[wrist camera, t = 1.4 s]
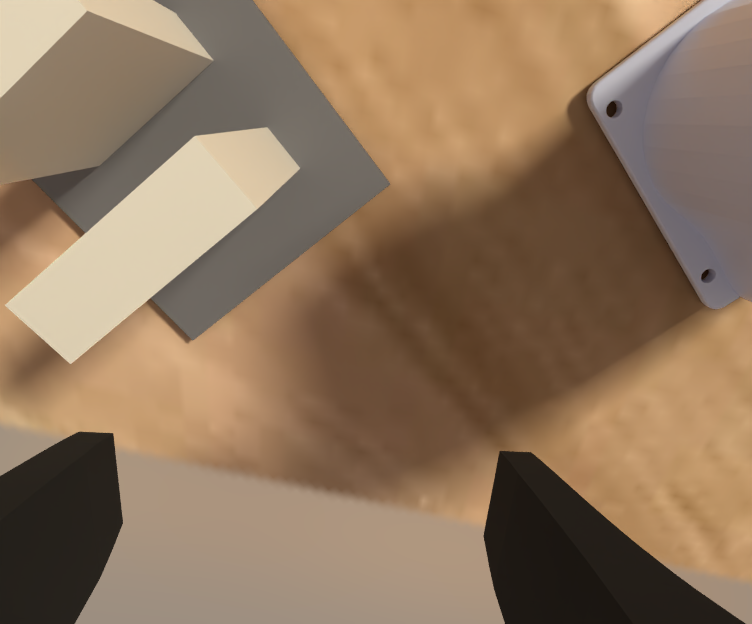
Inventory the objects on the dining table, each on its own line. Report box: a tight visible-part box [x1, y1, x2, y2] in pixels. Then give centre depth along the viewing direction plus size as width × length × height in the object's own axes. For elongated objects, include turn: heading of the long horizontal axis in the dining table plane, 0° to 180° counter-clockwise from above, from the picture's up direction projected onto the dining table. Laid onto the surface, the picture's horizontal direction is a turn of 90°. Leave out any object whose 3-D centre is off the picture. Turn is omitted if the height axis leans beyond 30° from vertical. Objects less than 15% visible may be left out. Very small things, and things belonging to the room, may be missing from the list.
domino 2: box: [5, 127, 300, 364], centre depth 14 cm, size 2×5×8 cm, turn 127°
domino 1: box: [0, 0, 214, 185], centre depth 12 cm, size 2×5×8 cm, turn 128°
